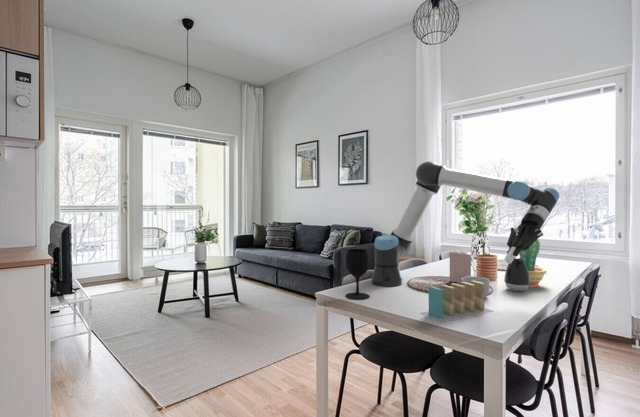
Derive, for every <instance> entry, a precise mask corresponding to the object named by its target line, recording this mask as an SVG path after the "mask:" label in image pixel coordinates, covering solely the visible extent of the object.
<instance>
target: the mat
mask: <svg viewBox="0 0 640 417" xmlns="http://www.w3.org/2000/svg"><path fill="white" fill-rule="evenodd" d="M492 312H494V310H492V309H489V308H487V307H484V310H478V309H475V312H469V311H466V310H465V314H459V313H456V312H454V316H449V315H446V314H444V313H443V318H440V319H438V318H436V317H434V316H431V315H429V311H424V312H420V314H421V315H423V316H426V317H428V318H431V319H433V320H435V321H437V322H440V323H443V322H447V321H453V320H457V319H461V318H462V319H464V318H467V317H472V316H477V315H482V314H486V313H487V314H488V313H492Z"/></svg>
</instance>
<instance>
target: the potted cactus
mask: <svg viewBox="0 0 640 417" xmlns="http://www.w3.org/2000/svg"><path fill="white" fill-rule="evenodd" d="M540 245H541V242H540V240H539V238H538V239H537V240H536V241H535V242H534V243H533V244H532V245H531V246H530V247H529V248H528V249H527V250H526V251H525V250H522V251H520V253H519V254H518V255H519V258H521V259H522V260H523V261H524V262H525V264H526V267H527V270H528V273H529V278H530V284H529V287H528V288H537V287H539V284H540V282H541V281H542V280H543V279H544V276H545V275H546V274H547V269H546V268H543V267H542V268H541V267H537V266H536V262H537V256H538V254H539V253H540Z"/></svg>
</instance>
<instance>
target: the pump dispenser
mask: <svg viewBox="0 0 640 417" xmlns="http://www.w3.org/2000/svg"><path fill="white" fill-rule="evenodd" d="M503 279H504V284H505V286H506V288H507V289H508V290H510V291H513V292H517V293H518V292H519V293H522V292H525V291H526V290H528V288H530V287H529V284H530V278H529V273H528V270H527V267H526V264H525V262H524V261H523V260H522V259H521V258H520V256H519V257H518V256H517V257H516V256H515V258H514V260H513V261H512V263H511V264H510V263H507V267H506V269H505V274H504V278H503Z"/></svg>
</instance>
